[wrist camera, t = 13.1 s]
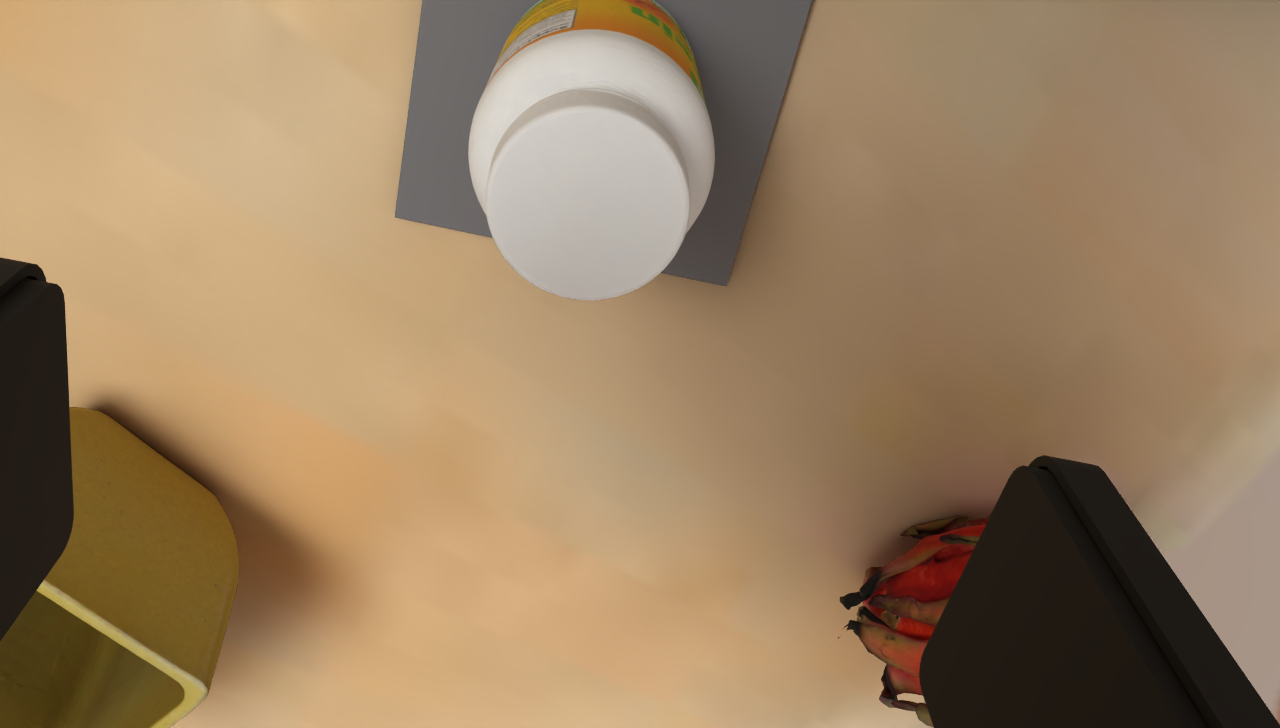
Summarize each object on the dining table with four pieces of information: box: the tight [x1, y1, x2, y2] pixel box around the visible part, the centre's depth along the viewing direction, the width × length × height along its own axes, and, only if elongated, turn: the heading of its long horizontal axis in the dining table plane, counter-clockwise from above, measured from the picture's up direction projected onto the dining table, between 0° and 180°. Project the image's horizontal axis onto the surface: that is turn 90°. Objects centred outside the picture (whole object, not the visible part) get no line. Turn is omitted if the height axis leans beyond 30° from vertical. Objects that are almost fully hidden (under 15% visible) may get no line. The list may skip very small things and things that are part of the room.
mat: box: [395, 0, 812, 286], centre depth 29 cm, size 10×10×1 cm
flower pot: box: [0, 407, 239, 728], centre depth 31 cm, size 9×9×9 cm
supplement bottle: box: [468, 0, 715, 300], centre depth 24 cm, size 5×5×10 cm
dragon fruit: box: [838, 515, 989, 727], centre depth 35 cm, size 8×8×12 cm
